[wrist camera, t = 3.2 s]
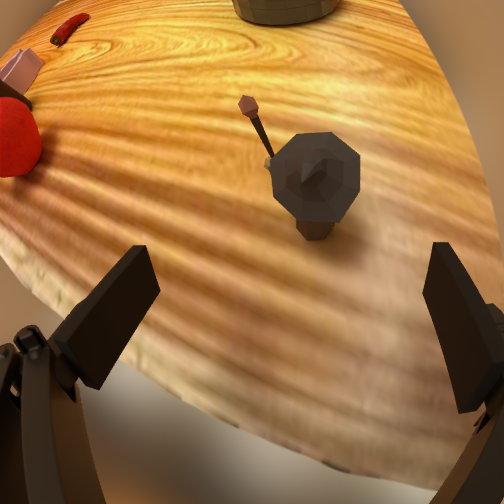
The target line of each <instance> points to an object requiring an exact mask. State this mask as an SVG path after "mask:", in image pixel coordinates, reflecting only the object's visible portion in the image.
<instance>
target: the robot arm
mask: <svg viewBox="0 0 504 504" xmlns="http://www.w3.org/2000/svg"><path fill="white" fill-rule="evenodd" d="M160 291H161V290H160V287H159V285H158V282H157V279H156V276H155V272H154V269H153V266H152V263H151V260H150V257H149V254H148V250H147V247H146V245H133V246H132V247H131V248H130V249H129V250H128V252H127V253H126V254H125V255H124V256H123V257H122V258H121V259H120V260H119V261H118V262H117V263H116V265H115V266H114V267H113V268H112V269H111V270H110V271H109V272H108V273H107V275H106V276H105V277H104V278H103V279H102V280H101V281H100V282H99V284H98V285H97V286H96V287H95V288H94V289H93V290H92V292H91V293H90V294H89V295H88V296H87V297H86V298H85V299H84V300H82V301H81V302H80V303H78V304H77V305H76V306H75V307H74V308H73V310H72V311H71V312H70V314H68V316H67V317H66V318H65V320H63V322H62V323H61V324H60V325H59V327H58V328H57V329H56V331H55V332H54V333H53V334H52V335H51V337H50V338H49V339H48V340H46V339H45V337H44V336H43V334H42V333H41V331H40V329H39V328H38V327H37V326H36V325H29V326H26V327H24V328H22V329H21V330H20V331H19V332H18V333H17V334H16V336H15V337H14V340H13V341H14V343H15V344H16V346H17V347H18V349H19V350H20V352H18V351H17V350H16V349H15V347H14V345H13V344H11V343H7V344H4V345H1V346H0V504H106V502H105V498H104V496H103V493H102V489H101V486H100V482H99V479H98V476H97V472H96V469H95V465H94V461H93V457H92V453H91V449H90V444H89V440H88V435H87V430H86V425H85V420H84V415H83V409H82V403H81V397H80V391H79V387H78V384H77V383H76V381H77V379H78V377H79V378H80V379H81V380H82V382H83V383H84V384H85V386H87V387H90V388H93V389H97V390H100V388H101V387H102V385H103V383H104V381H105V380H106V378H107V376H108V375H109V373H110V371H111V370H112V368H113V366H114V365H115V363H116V361H117V360H118V358H119V356H120V355H121V353H122V351H123V350H124V348H125V346H126V345H127V343H128V342H129V340H130V338H131V337H132V335H133V334H134V332H135V330H136V329H137V327H138V326H139V324H140V322H141V321H142V319H143V318H144V316H145V314H146V313H147V311H148V310H149V308H150V307H151V305H152V304H153V302H154V300H155V299H156V297H157V296H158V294H159V293H160ZM422 294H423V296H424V299H425V302H426V304H427V307H428V310H429V313H430V315H431V318H432V321H433V324H434V327H435V330H436V333H437V336H438V339H439V342H440V345H441V349H442V352H443V355H444V358H445V362H446V365H447V369H448V372H449V376H450V380H451V384H452V388H453V392H454V396H455V400H456V404H457V408H458V413H459V414H462V413H468V412H473V411H477V410H478V408H479V407H480V406H481V404H482V403H483V402H484V403H485V406H486V411H485V412H484V413H483V414H482V416H481V417H480V418H479V419H478V420H477V422H476V423H475V424H474V426H477V427H476V429H475V431H474V433H473V435H472V437H471V439H470V440H469V442H468V444H467V446H466V448H465V449H464V451H463V453H462V455H461V456H460V458H459V460H458V461H457V463H456V465H455V466H454V468H453V469H452V471H451V473H450V474H449V476H448V477H447V479H446V480H445V482H444V483H443V485H442V486H441V488H440V489H439V490H438V492H437V493H436V495H435V496H434V498H433V499H432V500H431V502H430V503H429V504H500V503H501V501H502V500H503V498H504V314H503V313H502V311H501V310H500V309H499V308H498V307H497V306H495V305H494V304H493V303H492V304H485V302H484V300H483V298H482V296H481V295H480V293H479V291H478V289H477V288H476V286H475V284H474V282H473V281H472V279H471V277H470V276H469V274H468V272H467V271H466V269H465V268H464V266H463V264H462V263H461V261H460V260H459V258H458V256H457V255H456V253H455V252H454V250H453V249H452V247H451V246H450V244H449V243H448V242H433V246H432V252H431V257H430V262H429V267H428V271H427V276H426V280H425V285H424V289H423V293H422ZM11 385H12V386H13V387H14V388H15V389H16V391H17V395H16V396H15V395H13V393H12V392H11V391H10V388H11Z"/></svg>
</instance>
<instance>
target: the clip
mask: <svg viewBox="0 0 504 504" xmlns="http://www.w3.org/2000/svg"><path fill="white" fill-rule="evenodd" d="M44 64H45V63H44V62H43V61H42V60H41V59H40V58H39V57H38V56H37V55H36V54H35V53H34V52H33V51H32V50H31V49H30V48H29V47H27V48H26V49H25V50H24V51H22V50H21V49H19V50H18V51H17V53H16V54H15V55H14V56H13V57H12V58H11V59H10V60H9V61H8V62H7V63H6V64H5V65H4V66H3V68H2V69H1V70H0V79H1V80H2V81H3V82H5V83H6V84H8V85H9V86H11V87H12V88H13V89H15V90H16V91H17V92H19V93H20V94H22V95H23V94H24V93H25V92H26V91H27V89H28V88H29V87H30V85H31V84H32V83H33V81H34V79H35V78H36V76H37V74H38V71H39V69H40V68H41V67H42V66H43V65H44Z"/></svg>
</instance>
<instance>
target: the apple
mask: <svg viewBox="0 0 504 504" xmlns="http://www.w3.org/2000/svg"><path fill="white" fill-rule="evenodd" d="M41 151H42V144H41V139H40V135H39V131H38V128H37V125H36V123H35V120H34V118H33V115H32V113H31V111H30V110H29V108H28V107H27V105H26V104H24V103H23V102H21V101H19V100H18V99H15V98H11V97H0V177H3V178H5V177H13V176H19V175H22V174H26V173H28V172H29V171H31V169H32V168H33V167H34V166H35V165H36V163H37V162H38V160H39V158H40V155H41Z"/></svg>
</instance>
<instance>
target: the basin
mask: <svg viewBox="0 0 504 504" xmlns="http://www.w3.org/2000/svg"><path fill="white" fill-rule="evenodd" d="M232 2H233V5H234V8H235V11H236V13H237V14H238V15H239V16H240V17H241V18H243V19H245V20H248V21H251V22H254V23H261V24H270V25H277V24H294V23H300V22H307V21H310V20H313V19H317V18H320V17H323V16H325V15H326V14H328V13H330V12H332V11H333V10H334V8H335V7H336V6H337V5H338V0H232Z"/></svg>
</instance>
